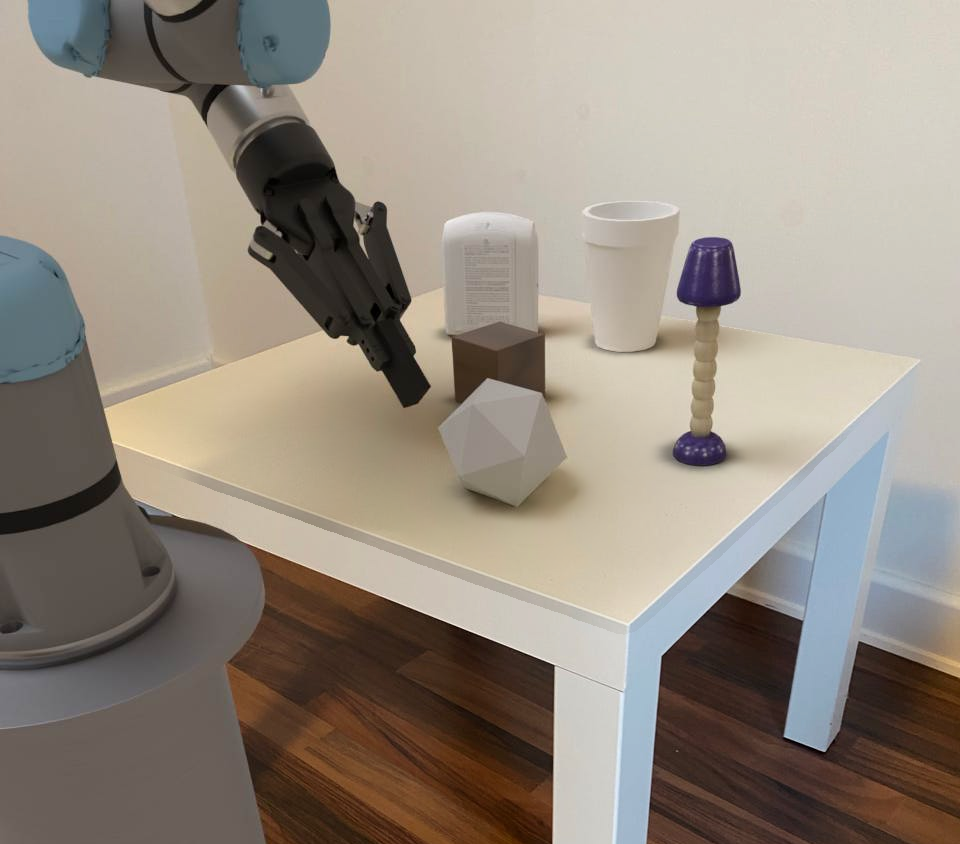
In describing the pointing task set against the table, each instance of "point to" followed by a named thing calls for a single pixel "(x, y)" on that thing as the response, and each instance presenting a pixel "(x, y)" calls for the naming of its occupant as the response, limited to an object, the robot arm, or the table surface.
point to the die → (502, 441)
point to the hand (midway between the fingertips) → (417, 397)
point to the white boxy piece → (490, 272)
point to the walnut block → (498, 358)
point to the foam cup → (628, 269)
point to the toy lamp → (706, 340)
